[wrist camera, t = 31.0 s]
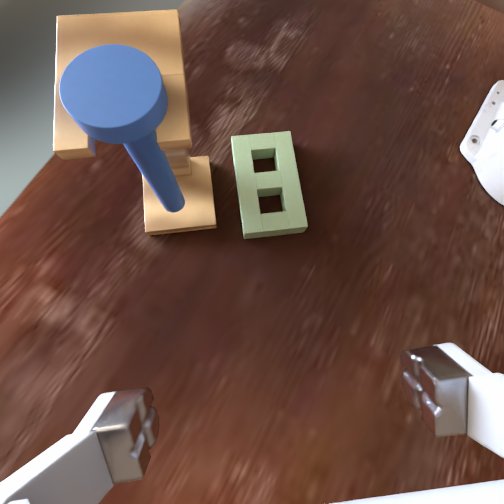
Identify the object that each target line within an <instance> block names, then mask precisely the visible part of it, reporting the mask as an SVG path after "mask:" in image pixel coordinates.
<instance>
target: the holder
mask: <svg viewBox="0 0 504 504" xmlns="http://www.w3.org/2000/svg"><path fill="white" fill-rule="evenodd" d="M231 139H232V153H233V160H234V168H235V175H236V183H237V191H238V198H239V206H240V214H241V221H242V229H243V236H244V239H250V238H259V237H268V236H277V235H285V234H294V233H303V232H304V231H305V230H306V228H307V227H308V224H307V219H306V214H305V208H304V203H303V197H302V192H301V187H300V181H299V176H298V170H297V165H296V160H295V154H294V149H293V144H292V138H291V133H290V131H287V132H276V133H265V134H254V135H242V136H232V137H231ZM266 158H274V162H275V168H276V171H271V172H260V173H254V167H253V160H256V159H266ZM274 195H280V198H281V204H282V210H283V212H275V213H265V214H260V208H259V201H258V197H264V196H274Z"/></svg>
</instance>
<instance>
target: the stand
mask: <svg viewBox="0 0 504 504" xmlns="http://www.w3.org/2000/svg"><path fill="white" fill-rule="evenodd" d="M56 38H57V39H56V74H55V83H56V84H55V101H54V139H53V140H54V141H53V151H54V152H55V153H56V154H57V155H58V156H59V157H60V158H61V159H74V158H85V157H95V139H94V138H92V137H90V136H89V135H87V134H86V133H85V132H84V131H83V130H82V129H81V128H80V127H79V126H78V124H77V123H76V122H75V121H74V119H73V118H72V117H71V116H70V115H69V113H68V112H67V111H66V109H65V108H64V106H63V104H62V102H61V99H60V95H59V83H60V79H61V76H62V74H63V72H64V70H65V68H66V67H67V65H68V64H69V63H70V62H71V61H72V60H73V59H74V58H75V57H77V56H78V55H79V54H81V53H83V52H84V51H86V50H89V49H91V48H94V47H97V46H101V45H108V44H119V45H126V46H130V47H133V48H136V49H138V50H140V51H142V52H144V53H145V54H147V55H148V56H149V57H150V58H151V59H152V60H153V61H154V62H155V64H156V65H157V67H158V69H159V71H160V73H161V76H162V80H163V83H164V86H165V89H166V93H167V97H168V106H167V111H166V114H165V116H164V118H163V120H162V122H161V123H160V125H159V126H158V127H157V128H156V129H155V132H156V134H157V143H158V145H159V147H160V149H161V150H164V153H165V155H166V157H167V160H168V162H169V164H170V166H171V169H172V171H173V173H174V176H175V178H176V180H177V183H178V185H179V187H180V190H181V192H182V194H183V197H184V199H185V205H184V207H183V208H182V209H181V210H180V211H178V212H175V213H172V212H168V211H167V210H166V209H165V208H164V207H163V205H162V204H161V202H160V201H159V199H158V197H157V196H156V194H155V193H154V191H153V190H152V188H151V187H150V185H149V184H148V182H147V180H146V179H145V177H144V176H143V194H144V214H145V232H146V233H147V234H148V235H158V234H167V233H176V232H185V231H194V230H203V229H212V228H217V225H216V215H215V206H214V197H213V188H212V179H211V170H210V161H209V156H202V157H191V158H190V157H189V153H188V150H187V148H192V147H193V146H192V136H191V126H190V115H189V105H188V94H187V85H186V74H185V64H184V53H183V43H182V33H181V22H180V17H179V12H178V10H160V11H141V12H122V13H102V14H84V15H65V16H57V37H56ZM142 175H143V174H142Z"/></svg>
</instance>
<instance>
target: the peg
mask: <svg viewBox="0 0 504 504" xmlns="http://www.w3.org/2000/svg"><path fill="white" fill-rule="evenodd" d="M59 95H60V99H61V102H62V104H63V106H64V108H65V109H66V111H67V112H68V113H69V115H70V116H71V117H72V118H73V119H74V121H75V122H76V123H77V124H78V126H79V127H80V128H81V129H82V130H83V131H84V132H85V133H86V134H87V135H89V136H90V137H92V138H94V139H96V140H99V141H102V142H105V143H110V144H123V145H124V146H125V148H126V149H127V151H128V152H129V154H130V156H131V157H132V159H133V160H134V162H135V163H136V165H137V166H138V168H139V170H140V171H141V173H142V174H143V176H144V177H145V179H146V180H147V182H148V184H149V185H150V187H151V188H152V190H153V191H154V193H155V194H156V196H157V197H158V199H159V201H160V202H161V204H162V205H163V207H164V208H165V209H166V210H167V211H168V212H172V213H175V212H178V211H180V210H181V209H182V208H183V207H184V205H185V199H184V197H183V194H182V192H181V190H180V187H179V185H178V183H177V180H176V178H175V176H174V173H173V171H172V169H171V166H170V164H169V162H168V160H167V157H166V155H165V153H164V150H161V149H160V147H159V145H158V143H157V134H156V132H155V129H156V128H157V127H158V126H159V125H160V123H161V122H162V120H163V118H164V116H165V114H166V111H167V106H168V97H167V93H166V89H165V86H164V83H163V80H162V76H161V73H160V71H159V69H158V67H157V65H156V64H155V62H154V61H153V60H152V59H151V58H150V57H149V56H148V55H147V54H145V53H144V52H142V51H140V50H138V49H136V48H133V47H130V46H126V45H119V44H108V45H101V46H97V47H94V48H91V49H89V50H86V51H84V52H83V53H81V54H79V55H78V56H77V57H75V58H74V59H73V60H72V61H71V62H70V63H69V64H68V65H67V67H66V68H65V70H64V72H63V74H62V76H61V79H60V83H59Z"/></svg>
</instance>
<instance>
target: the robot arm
mask: <svg viewBox="0 0 504 504" xmlns="http://www.w3.org/2000/svg"><path fill="white" fill-rule="evenodd" d="M460 151H461V153H462V154H463V155H464V157H465V158H466V159H467V160H468V161H469V162H470V163H471V164H472V166H473V168H474V170H475V172H476V174H477V177H478V179H479V181H480V183H481V184H482V186H483V187H484V189H485V190H486V191H487V192H488V193H489V194H490V195H491V196H492V197H493V198H494V199H495V200H496V201H497V202H499V203H500V204H502V205H503V206H504V80H501V81H498V82H497V83H496V84H494V85H493V87H492V88H491V90H490V92H489V93H488V95H487V97H486V99H485V101H484V103H483V104H482V106H481V108H480V110H479V112H478V114H477V115H476V117H475V119H474V121H473V123H472V125H471V127H470V128H469V130H468V132H467V134H466V136H465V138H464V139H463V141H462V143H461V145H460ZM401 363H402V364H403V366H404V367H405V370H404V371H403V373H402V374H401V377H402V386H403V389H404V392H405V395H406V397H407V399H408V400H409V402H410V403H411V405H412V406H413V407H415V408H416V409H418V410H420V411H422V419H423V421H424V422H425V423H426V425H427V426H428V427H429V429H430V430H431V431H432V433H433V434H434V435H435V437H443V436H452V435H461V434H467V436H469V437H471V438H472V439H474V440H475V441H477V442H479V443H480V444H482V445H483V446H485V447H487V448H488V449H490V450H491V451H493V452H494V453H496V454H498V455H499V456H501V457H502V458H504V374H501V373H492V372H490V371H489V370H488V369H486V368H485V367H484V366H482V365H481V364H480V363H479V362H477V361H476V360H475V359H473V358H472V357H471V356H469V355H468V354H467V353H465V352H464V351H463V350H462V349H460V348H459V347H458V346H456V345H455V344H453V343H450V342H449V343H444V344H438V345H434V346H429V347H423V348H416V349H410V350H404V351H402V352H401ZM153 399H154V398H153V394H152V391H151V389H149V388H141V389H132V390H124V391H118V392H110V393H103V394H101V395H99V397H98V398H97V400H96V401H95V402H94V404H93V405H92V407H91V408H90V410H89V411H88V412H87V414H86V415H85V417H84V418H83V420H82V421H81V422H80V424H79V425H78V427H77V428H76V430H75V431H74V432H73V434H71V435H66V436H65V437H64V438H62V439H61V440H59V441H58V442H57V443H55V444H54V445H53V446H51V447H50V448H48V449H47V450H46V451H44V452H43V453H41V454H40V455H39V456H37V457H36V458H34V459H33V460H32V461H30V462H29V463H27V464H26V465H25V466H23V467H22V468H20V469H19V470H18V471H16V472H15V473H13V474H12V475H11V476H9V477H8V478H6V479H5V480H4V481H2V482H1V483H0V504H98V503H99V502H100V501H101V500H102V499H103V497H104V496H105V495H106V494H107V493H108V492H109V490H110V489H111V488H112V487H113V484H116V483H122V482H127V481H133V480H139V479H143V478H144V475H145V472H146V469H147V466H148V463H149V461H150V458H151V456H150V452H149V450H150V449H151V448H152V447H153V446H154V445H155V443H156V440H157V437H158V432H159V416H158V412H157V410H156V409H155V408H154V407H153V406H151V404H152V401H153ZM330 504H504V480H497V481H489V482H482V483H475V484H468V485H461V486H454V487H447V488H439V489H432V490H425V491H418V492H410V493H403V494H396V495H388V496H381V497H374V498H366V499H359V500H352V501H344V502H337V503H330Z"/></svg>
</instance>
